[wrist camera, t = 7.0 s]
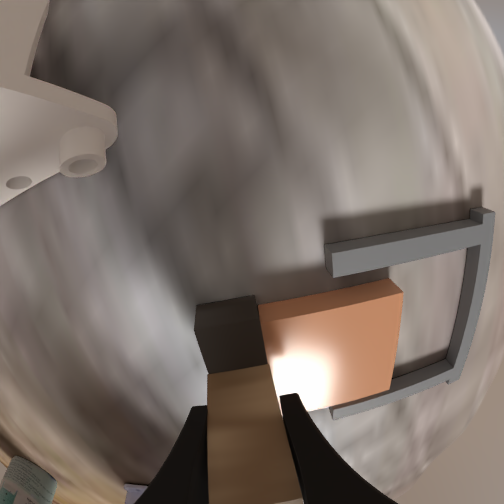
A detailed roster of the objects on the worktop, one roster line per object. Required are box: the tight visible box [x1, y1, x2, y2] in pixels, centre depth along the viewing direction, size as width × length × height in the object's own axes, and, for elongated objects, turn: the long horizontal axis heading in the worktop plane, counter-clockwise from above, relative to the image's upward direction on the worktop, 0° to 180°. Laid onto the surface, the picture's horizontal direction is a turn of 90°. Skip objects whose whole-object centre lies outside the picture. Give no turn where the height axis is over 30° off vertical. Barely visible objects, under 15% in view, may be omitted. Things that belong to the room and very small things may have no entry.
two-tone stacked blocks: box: [194, 295, 303, 504], centre depth 10 cm, size 2×7×8 cm, turn 9°
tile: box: [258, 278, 403, 414], centre depth 13 cm, size 6×6×2 cm
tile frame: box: [324, 207, 495, 420], centre depth 13 cm, size 9×11×1 cm
